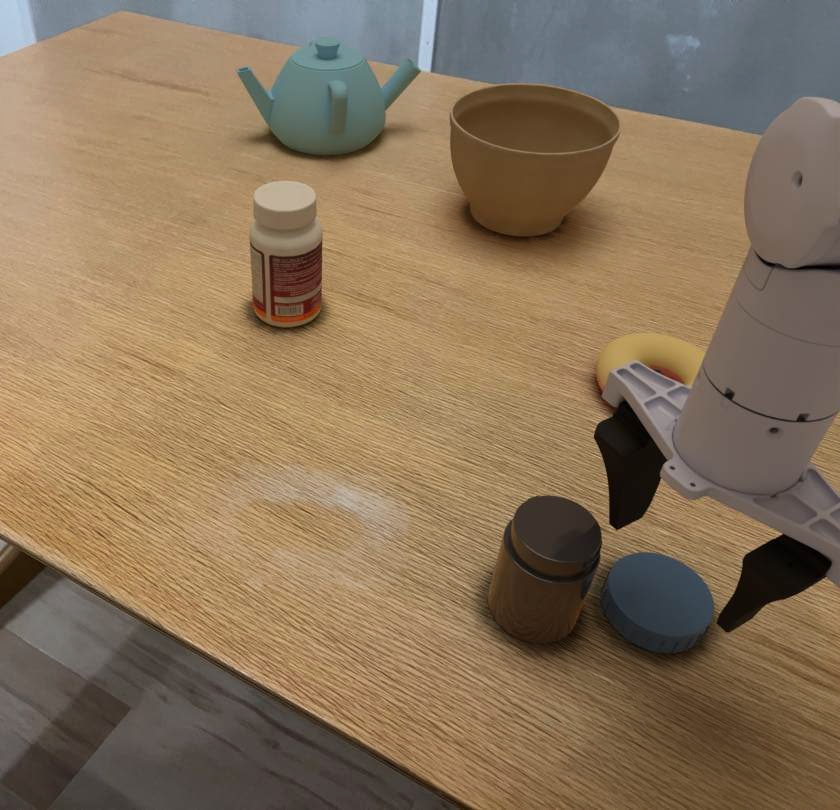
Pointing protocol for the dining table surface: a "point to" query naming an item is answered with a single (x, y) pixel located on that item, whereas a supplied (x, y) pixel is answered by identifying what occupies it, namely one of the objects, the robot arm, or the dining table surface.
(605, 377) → the donut
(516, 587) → the jar
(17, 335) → the dining table surface
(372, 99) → the teapot
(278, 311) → the pill bottle
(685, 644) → the lid
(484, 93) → the planter bowl
